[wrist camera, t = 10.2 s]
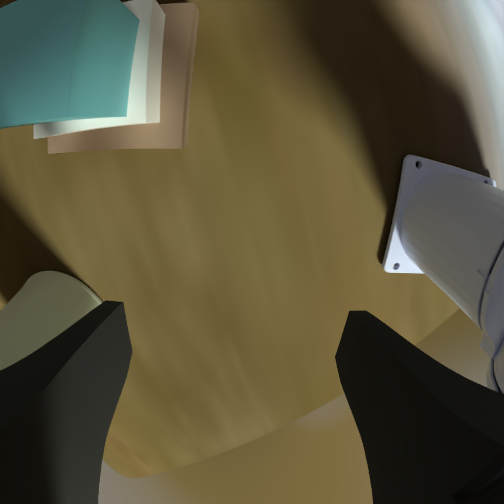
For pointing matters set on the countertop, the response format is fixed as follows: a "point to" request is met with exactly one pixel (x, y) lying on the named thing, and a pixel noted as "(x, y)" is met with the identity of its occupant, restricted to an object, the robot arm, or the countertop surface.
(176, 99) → the walnut slab
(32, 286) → the can
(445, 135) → the countertop surface
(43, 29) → the teal block
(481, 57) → the countertop surface
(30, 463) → the robot arm
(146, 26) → the white block
